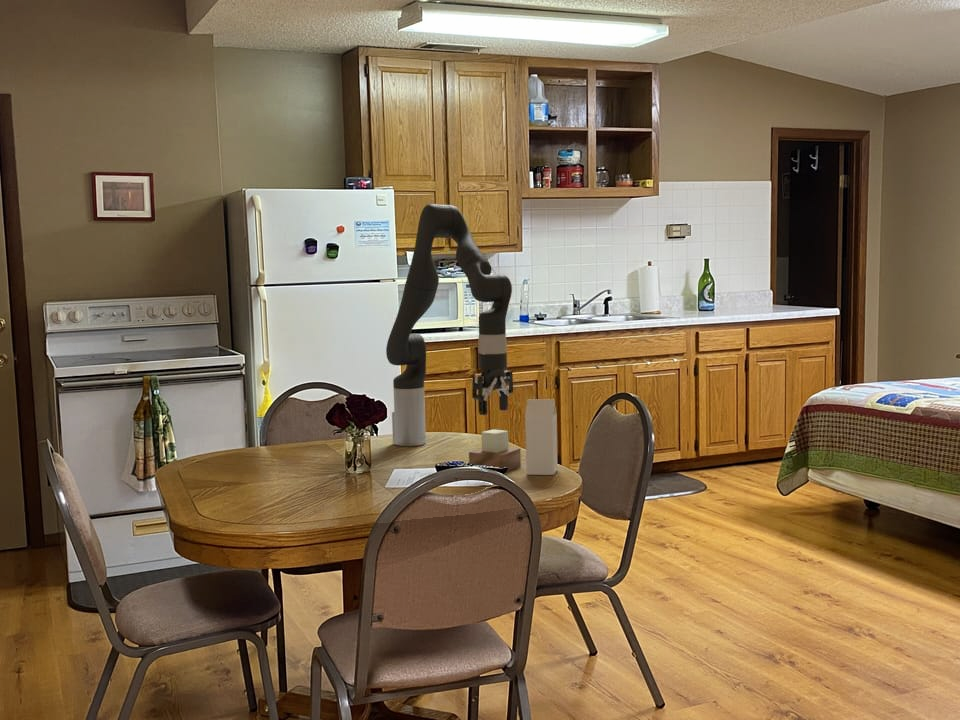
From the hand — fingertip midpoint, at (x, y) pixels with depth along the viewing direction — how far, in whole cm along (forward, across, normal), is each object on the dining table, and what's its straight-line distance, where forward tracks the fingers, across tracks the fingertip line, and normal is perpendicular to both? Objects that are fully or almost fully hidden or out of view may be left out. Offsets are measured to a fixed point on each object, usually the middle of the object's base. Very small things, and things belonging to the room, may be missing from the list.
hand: (493, 412), depth 264 cm
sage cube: (+10, 0, 0) cm, 10 cm away
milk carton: (+15, -2, +14) cm, 21 cm away
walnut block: (+15, 0, 0) cm, 15 cm away
